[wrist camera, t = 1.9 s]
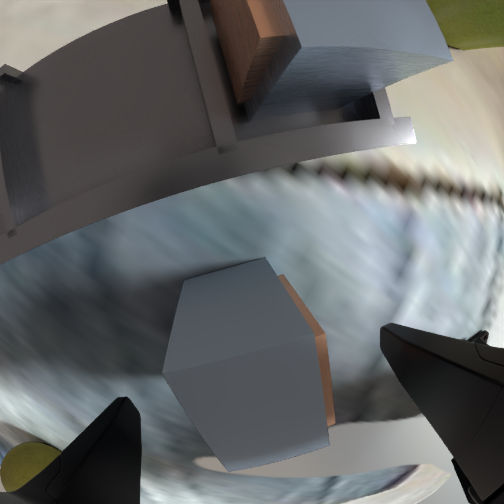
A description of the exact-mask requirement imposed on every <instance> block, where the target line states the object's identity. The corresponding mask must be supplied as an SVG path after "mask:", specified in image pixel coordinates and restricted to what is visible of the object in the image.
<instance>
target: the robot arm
mask: <svg viewBox="0 0 504 504" xmlns="http://www.w3.org/2000/svg"><path fill="white" fill-rule="evenodd" d="M488 335H489V333H488V332H487V331H486V330H484V331H482V332H481V333H480V334H479V335H477V336H476V337H475V338H473V339H472V340H471V341H469V342H468V341H464V340H460V339H455V338H451V337H447V336H443V335H438V334H434V333H430V332H426V331H422V330H418V329H414V328H410V327H406V326H402V325H398V324H395V323H388V324H386V325H384V326H382V327H381V329H380V348H381V351H382V353H383V354H384V356H385V358H386V359H387V361H388V363H389V364H390V366H391V368H392V370H393V371H394V373H395V375H396V377H397V378H398V380H399V382H400V383H401V384H402V386H403V387H404V389H405V390H406V391H407V393H408V394H409V395H410V397H411V398H412V399H413V401H414V402H415V403H416V405H417V406H418V407H419V409H420V410H421V412H422V413H423V415H424V416H425V417H426V418H427V420H428V421H429V422H430V424H431V425H432V427H433V428H434V430H435V431H436V432H437V434H438V435H439V436H440V438H441V439H442V441H443V442H444V444H445V445H446V447H447V448H448V450H449V451H450V452H451V454H452V455H453V457H454V458H453V459H452V460H451V461H452V463H453V465H454V469H455V471H456V473H457V476H458V478H459V481H460V483H461V485H462V488H463V490H464V493H465V495H466V498H467V500H468V502H469V503H470V504H504V348H498V347H492V346H489V345H488V344H486V343H487V339H488ZM141 456H142V445H141V417H140V413H139V411H138V410H137V408H136V407H135V406H134V404H133V403H132V401H131V400H130V399H129V398H128V397H118V398H116V399H115V400H114V401H113V402H112V403H111V404H110V405H109V406H108V407H107V408H106V409H105V410H104V411H103V412H102V413H101V414H100V415H99V416H98V417H97V418H96V419H95V420H94V421H93V422H92V423H91V424H90V425H89V426H88V427H87V428H86V429H85V430H84V431H83V432H82V433H81V434H80V435H79V436H78V437H77V438H76V439H75V440H74V441H73V442H72V443H71V444H70V445H69V446H67V447H66V448H65V449H64V450H63V451H62V452H61V455H60V454H59V455H58V456H57V457H56V458H55V459H54V460H53V461H52V462H51V463H50V464H49V465H48V466H47V467H45V468H44V469H43V470H42V471H41V472H39V473H38V474H37V475H36V476H34V477H33V478H32V479H31V480H29V481H28V482H27V483H25V484H24V485H23V486H22V487H20V488H19V489H17V490H15V491H12V492H0V504H140V477H141Z"/></svg>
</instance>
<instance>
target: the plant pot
mask: <svg viewBox="0 0 504 504" xmlns="http://www.w3.org/2000/svg"><path fill="white" fill-rule="evenodd" d="M426 2H427V4H428V6H429V8H430V10H431V11H432V13H433V15H434V17H435V19H436V21H437V23H438V26H439V28H440V30H441V32H442V34H443V36H444V39H445V41H446V43H447V44H448V45H449V46H452V47H455V48H459V49H461V50H471V49H480V48H491V47H504V0H426Z"/></svg>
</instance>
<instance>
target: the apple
mask: <svg viewBox="0 0 504 504" xmlns="http://www.w3.org/2000/svg"><path fill="white" fill-rule="evenodd" d="M59 454H60V455H61V451H59V450H57V449H55V448H53V447H51V446H48V445H46V444H43V443H39V442H27V443H23V444H20V445H18V446H16V447H14V448H13V449H12V450H10V451H9V452H8V453H7V455H6V456H5V458H4V459H3V461H2V464H1V468H0V477H1V481H2V484H3V486H4V488H5V490H6V491H7V492H12V491H15V490H17V489H19V488H20V487H22V486H23V485H24V484H25V483H27V482H28V481H29V480H31V479H32V478H33V477H34V476H36V475H37V474H38V473H39V472H41V471H42V470H43V469H44V468H45V467H47V466H48V465H49V464H50V463H51V462H52V461H53V460H54V459H55V458H56V457H57V456H58V455H59Z"/></svg>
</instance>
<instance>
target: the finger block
mask: <svg viewBox="0 0 504 504" xmlns="http://www.w3.org/2000/svg"><path fill="white" fill-rule="evenodd" d="M162 374H163V376H164V378H165V379H166V381H167V383H168V385H169V386H170V388H171V390H172V391H173V393H174V395H175V396H176V398H177V400H178V401H179V403H180V405H181V406H182V408H183V409H184V411H185V412H186V414H187V415H188V417H189V419H190V420H191V422H192V423H193V425H194V426H195V428H196V429H197V430H198V432H199V433H200V435H201V436H202V438H203V439H204V440H205V442H206V443H207V445H208V446H209V447H210V449H211V450H212V451H213V453H214V454H215V455H216V457H217V458H218V459H219V461H220V462H221V463H222V465H223V466H224V467H225V468H226V469H227V471H228V472H231V471H236V470H241V469H247V468H252V467H256V466H261V465H266V464H269V463H274V462H278V461H282V460H285V459H288V458H292V457H296V456H299V455H302V454H306V453H309V452H312V451H315V450H318V449H321V448H323V447H326V446H329V445H330V443H329V434H328V426H331V425H333V424H335V413H334V402H333V392H332V383H331V374H330V365H329V357H328V349H327V342H326V335H325V332H324V331H323V329H322V328H321V327H320V325H319V324H318V322H317V321H316V319H315V318H314V317H313V315H312V314H311V312H310V311H309V310H308V308H307V307H306V305H305V304H304V303H303V301H302V300H301V298H300V297H299V296H298V294H297V293H296V291H295V290H294V289H293V287H292V286H291V284H290V283H289V282H288V280H287V279H286V277H285V276H284V275H283V274H282V275H279V276H277V275H276V273H275V272H274V270H273V268H272V267H271V265H270V264H269V262H268V261H267V259H266V258H261V259H258V260H254V261H251V262H247V263H244V264H240V265H237V266H233V267H230V268H226V269H223V270H219V271H216V272H212V273H208V274H205V275H201V276H198V277H194V278H191V279H187V280H184V283H183V286H182V290H181V294H180V298H179V302H178V306H177V310H176V314H175V318H174V322H173V326H172V330H171V334H170V339H169V343H168V347H167V352H166V356H165V361H164V365H163V370H162Z"/></svg>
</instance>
